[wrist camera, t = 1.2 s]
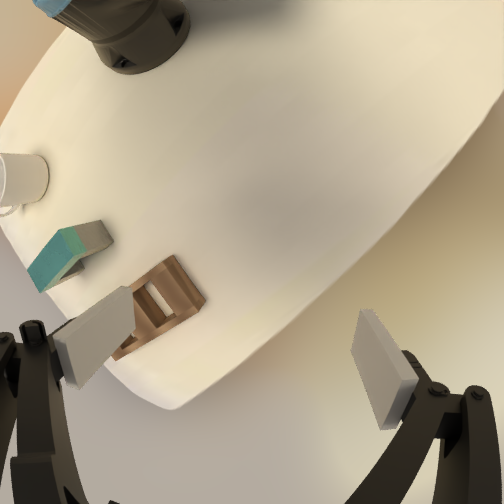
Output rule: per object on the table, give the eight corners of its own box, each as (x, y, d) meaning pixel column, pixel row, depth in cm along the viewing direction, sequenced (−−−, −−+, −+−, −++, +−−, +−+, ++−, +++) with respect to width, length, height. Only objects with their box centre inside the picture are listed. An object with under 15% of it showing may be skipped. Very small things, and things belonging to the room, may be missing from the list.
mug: (11, 199, 41) (-29, 205, 30) (34, 146, 38) (-8, 143, 28) (31, 226, 41) (-10, 236, 31) (56, 171, 39) (11, 171, 28)
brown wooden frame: (126, 349, 44) (115, 361, 40) (97, 311, 43) (85, 321, 39) (205, 300, 41) (198, 312, 37) (172, 254, 40) (162, 261, 36)
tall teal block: (78, 274, 42) (40, 293, 32) (66, 254, 42) (26, 270, 32) (113, 241, 40) (73, 256, 31) (100, 219, 40) (58, 229, 30)
